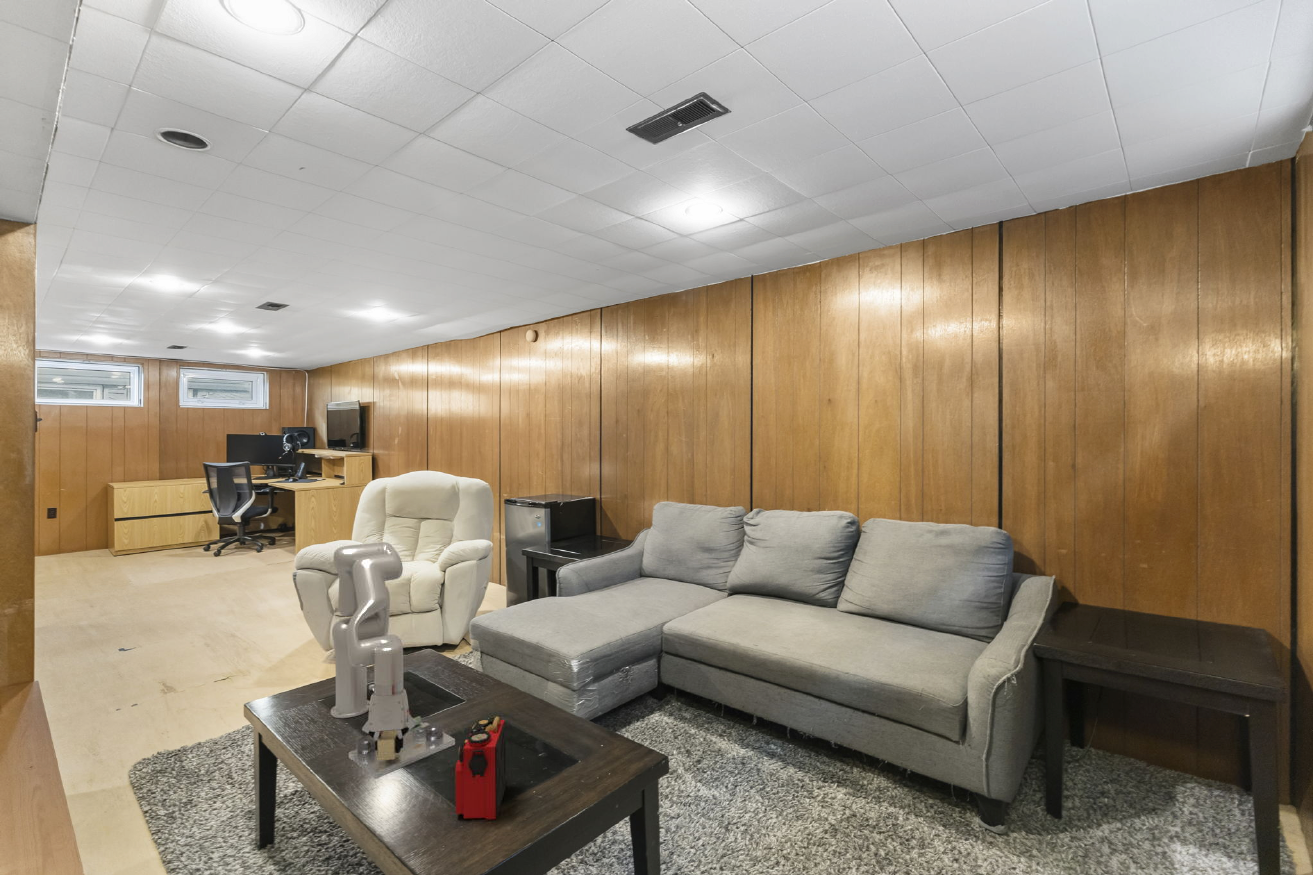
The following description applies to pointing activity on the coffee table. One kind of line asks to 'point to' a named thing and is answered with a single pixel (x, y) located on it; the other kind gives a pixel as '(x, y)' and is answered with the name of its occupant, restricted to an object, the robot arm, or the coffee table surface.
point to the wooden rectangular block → (387, 745)
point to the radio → (482, 770)
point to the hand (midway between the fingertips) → (389, 750)
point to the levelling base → (415, 747)
